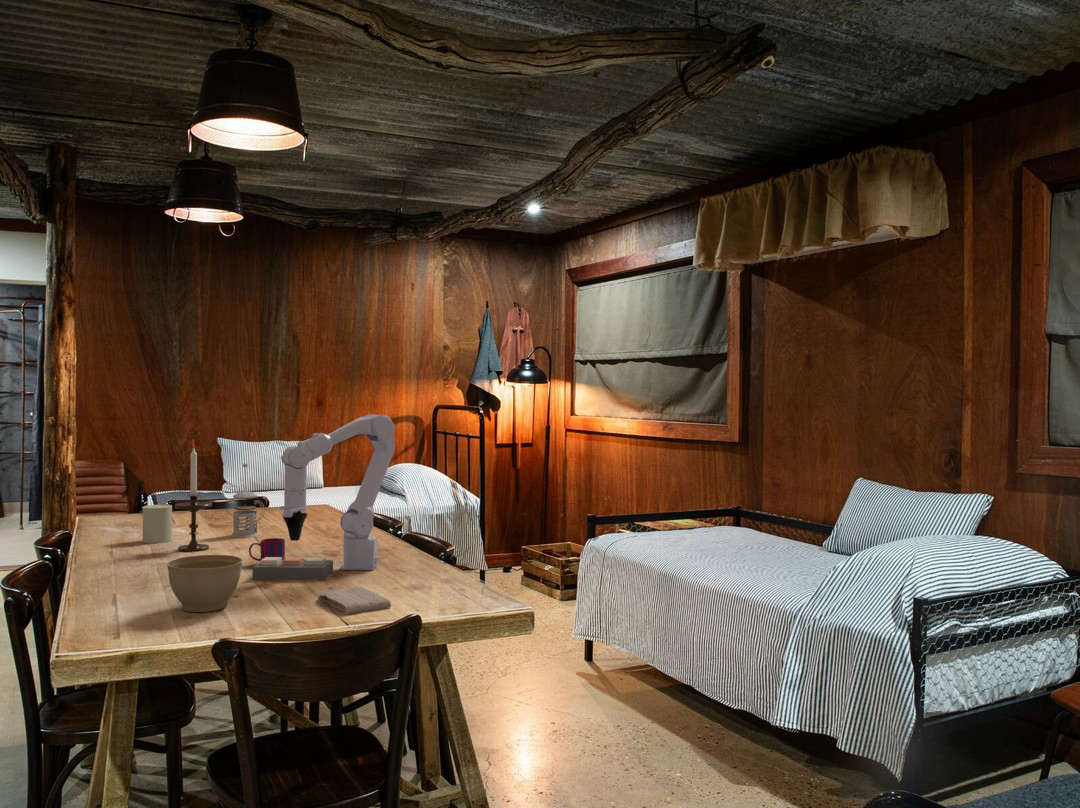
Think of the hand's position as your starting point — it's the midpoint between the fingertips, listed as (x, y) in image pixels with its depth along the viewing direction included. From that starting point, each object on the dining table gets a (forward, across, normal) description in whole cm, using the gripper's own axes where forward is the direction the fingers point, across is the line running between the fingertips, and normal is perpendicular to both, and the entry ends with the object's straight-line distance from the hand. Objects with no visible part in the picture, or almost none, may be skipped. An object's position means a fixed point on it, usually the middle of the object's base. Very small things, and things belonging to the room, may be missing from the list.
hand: (294, 540), depth 237 cm
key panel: (+10, +2, 0) cm, 10 cm away
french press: (+10, -64, -35) cm, 74 cm away
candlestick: (+10, -37, -43) cm, 57 cm away
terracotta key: (+7, +2, 0) cm, 7 cm away
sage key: (+7, +2, +6) cm, 9 cm away
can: (+10, -52, -61) cm, 81 cm away
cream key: (+7, +2, -6) cm, 9 cm away
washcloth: (+10, +31, +23) cm, 40 cm away
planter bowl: (+10, +37, -10) cm, 39 cm away
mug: (+10, -15, -12) cm, 22 cm away
